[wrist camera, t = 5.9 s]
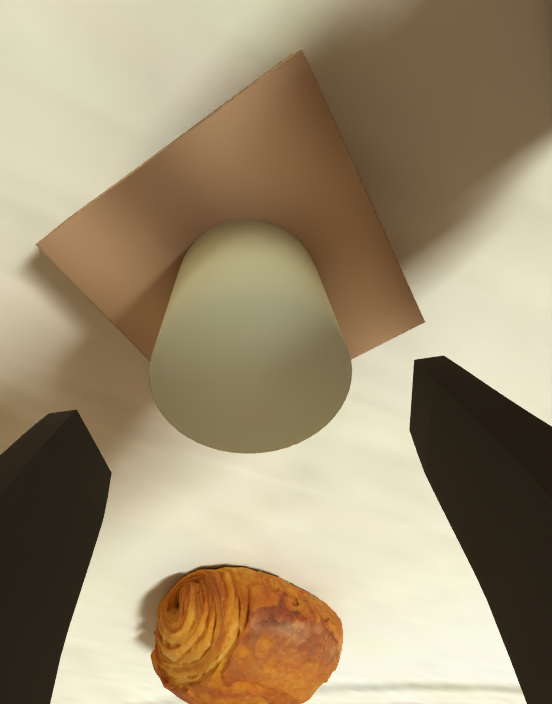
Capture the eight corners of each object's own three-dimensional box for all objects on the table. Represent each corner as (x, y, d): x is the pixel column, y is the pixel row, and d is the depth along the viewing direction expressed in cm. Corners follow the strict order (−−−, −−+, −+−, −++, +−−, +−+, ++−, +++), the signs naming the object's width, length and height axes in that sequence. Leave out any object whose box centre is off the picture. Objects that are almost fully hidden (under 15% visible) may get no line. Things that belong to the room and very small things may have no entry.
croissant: (246, 508, 30) (236, 619, 23) (366, 607, 36) (388, 723, 29) (119, 587, 35) (78, 702, 27) (244, 666, 40) (236, 779, 33)
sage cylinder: (301, 200, 13) (333, 266, 9) (328, 329, 16) (363, 430, 11) (154, 241, 14) (111, 324, 9) (205, 360, 16) (192, 469, 12)
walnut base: (290, 55, 13) (301, 50, 11) (400, 289, 19) (424, 322, 16) (68, 218, 16) (35, 244, 13) (219, 386, 21) (215, 427, 18)
